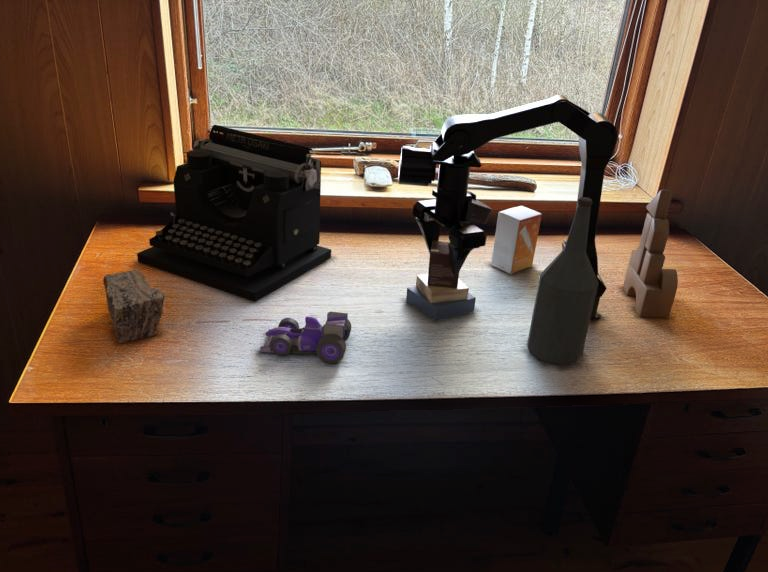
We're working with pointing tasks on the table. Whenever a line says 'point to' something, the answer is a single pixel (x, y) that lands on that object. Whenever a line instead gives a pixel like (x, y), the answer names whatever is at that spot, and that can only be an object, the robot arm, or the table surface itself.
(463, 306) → the stack base
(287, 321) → the toy race car
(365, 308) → the table surface
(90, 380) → the table surface
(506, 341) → the table surface
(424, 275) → the stack top
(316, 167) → the typewriter
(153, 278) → the table surface
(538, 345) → the bottle
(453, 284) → the box
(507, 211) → the small box
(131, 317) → the stone block
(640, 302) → the wooden toy
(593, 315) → the robot arm
